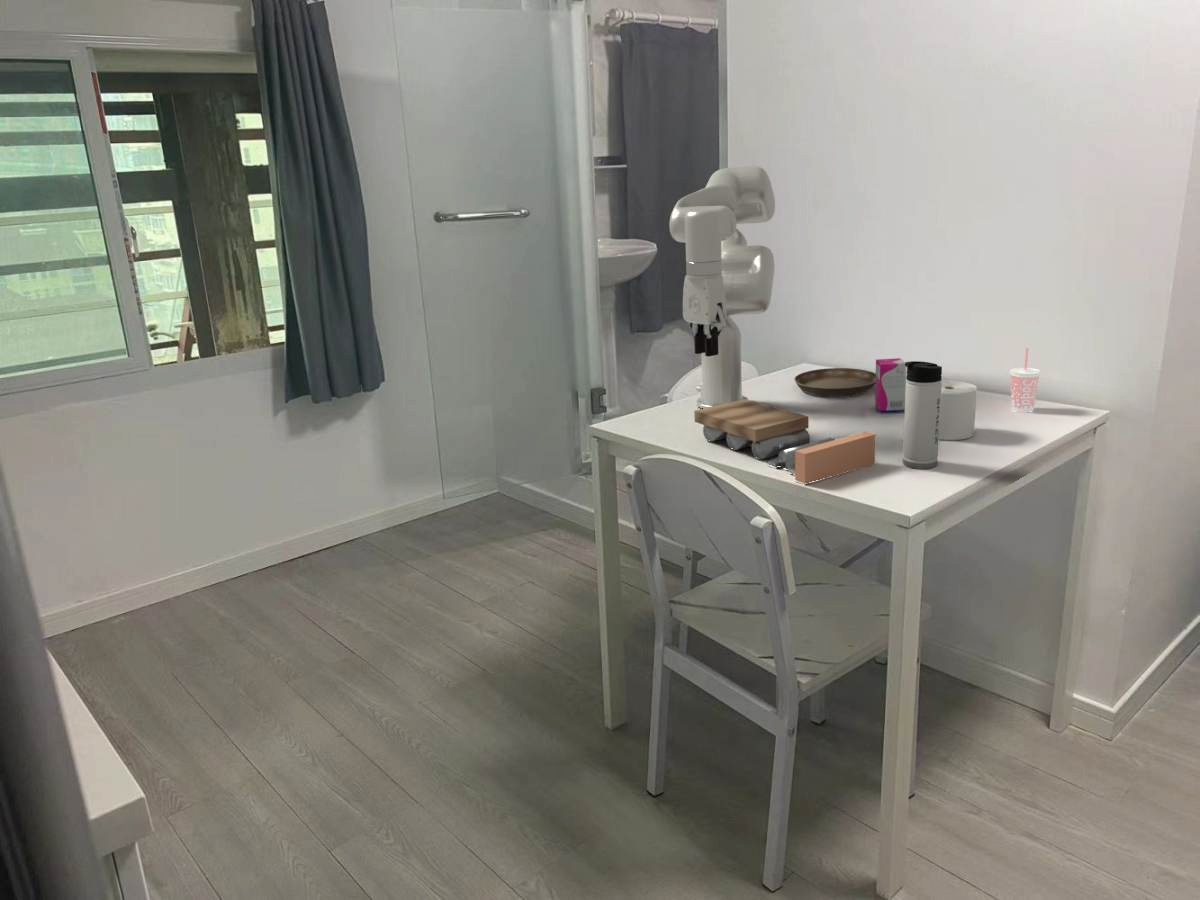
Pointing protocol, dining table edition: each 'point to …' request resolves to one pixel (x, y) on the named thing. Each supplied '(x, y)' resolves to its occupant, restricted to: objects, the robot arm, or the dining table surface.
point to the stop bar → (835, 457)
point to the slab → (751, 419)
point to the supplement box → (890, 385)
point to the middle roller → (737, 442)
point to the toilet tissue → (957, 410)
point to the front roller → (779, 443)
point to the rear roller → (713, 433)
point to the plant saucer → (836, 382)
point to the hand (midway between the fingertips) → (706, 353)
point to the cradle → (776, 463)
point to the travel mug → (922, 414)
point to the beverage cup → (1024, 387)
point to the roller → (789, 454)
